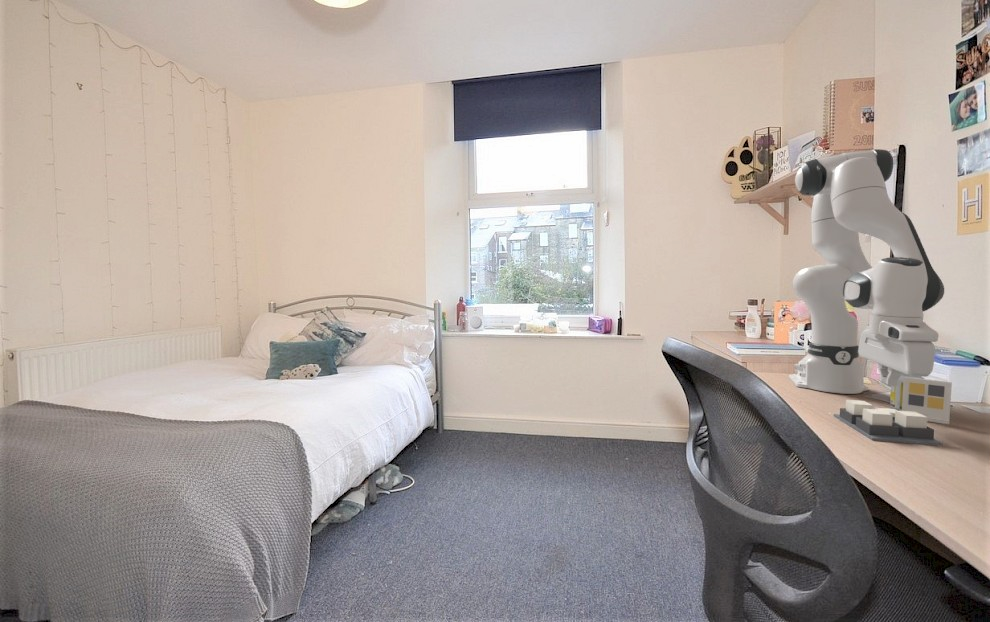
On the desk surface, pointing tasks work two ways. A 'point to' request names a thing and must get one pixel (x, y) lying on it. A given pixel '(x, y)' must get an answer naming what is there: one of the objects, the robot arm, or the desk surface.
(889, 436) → the button board
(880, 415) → the button
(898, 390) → the pill bottle
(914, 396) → the card
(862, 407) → the button
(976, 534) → the desk surface
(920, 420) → the button
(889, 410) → the button
